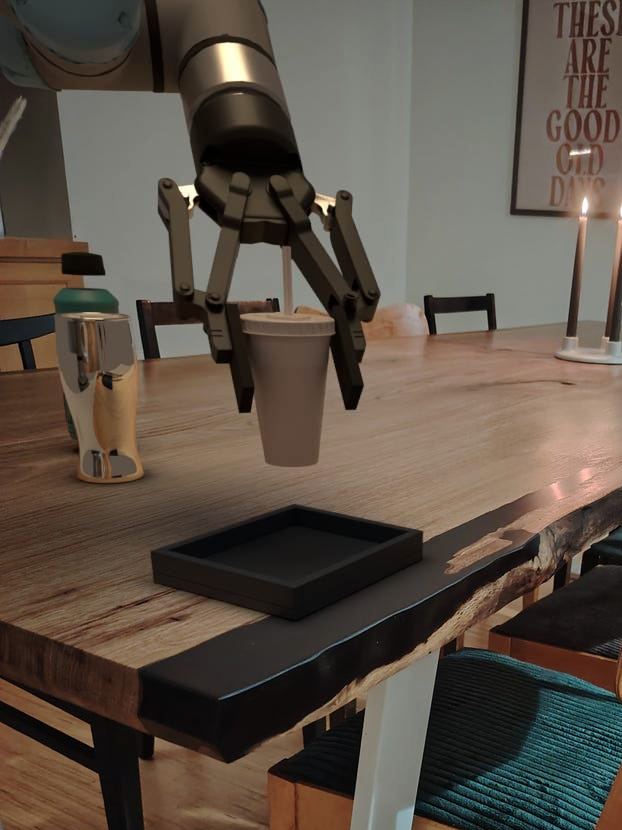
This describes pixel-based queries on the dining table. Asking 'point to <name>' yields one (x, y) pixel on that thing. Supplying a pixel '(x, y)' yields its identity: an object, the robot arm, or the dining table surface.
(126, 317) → the beer glass
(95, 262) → the beverage bottle
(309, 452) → the smoothie
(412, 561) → the tray
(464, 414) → the dining table surface
